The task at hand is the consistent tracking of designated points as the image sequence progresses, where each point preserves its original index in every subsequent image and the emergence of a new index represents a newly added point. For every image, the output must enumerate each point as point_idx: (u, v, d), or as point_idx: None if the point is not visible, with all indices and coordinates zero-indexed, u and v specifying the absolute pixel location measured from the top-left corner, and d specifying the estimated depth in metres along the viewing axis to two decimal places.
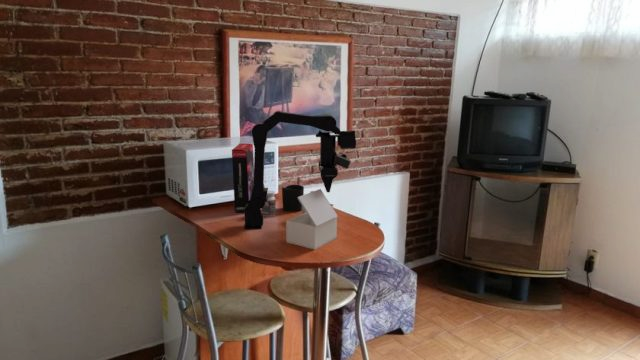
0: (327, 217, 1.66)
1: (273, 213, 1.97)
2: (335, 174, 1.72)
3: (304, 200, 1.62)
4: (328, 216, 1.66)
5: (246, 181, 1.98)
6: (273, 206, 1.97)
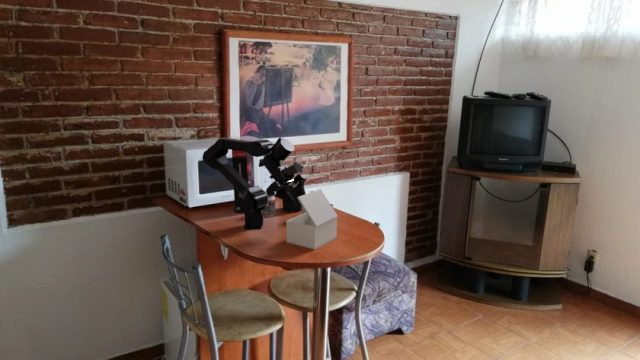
0: (327, 217, 1.66)
1: (273, 213, 1.97)
2: (276, 187, 1.63)
3: (304, 200, 1.62)
4: (328, 216, 1.66)
5: None
6: (273, 206, 1.97)
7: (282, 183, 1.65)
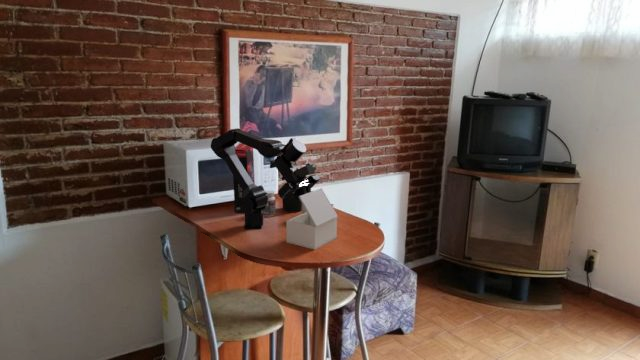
0: (327, 217, 1.66)
1: (273, 213, 1.97)
2: (288, 188, 1.60)
3: (305, 199, 1.62)
4: (328, 216, 1.66)
5: None
6: (273, 206, 1.97)
7: (294, 185, 1.62)
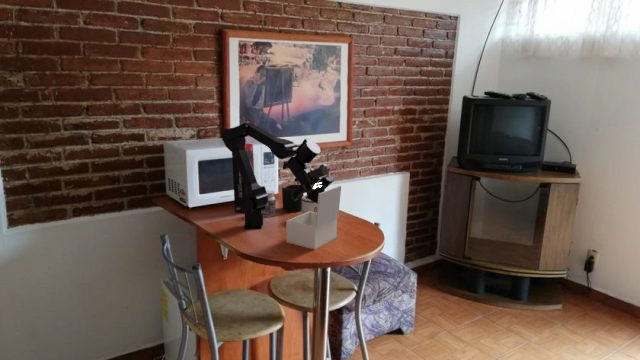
0: (329, 218, 1.65)
1: (273, 213, 1.97)
2: (302, 190, 1.57)
3: (322, 198, 1.58)
4: (330, 217, 1.66)
5: None
6: (273, 206, 1.97)
7: (308, 186, 1.59)
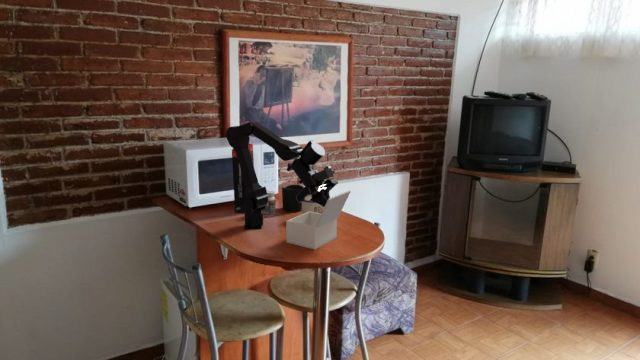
0: (330, 219, 1.65)
1: (273, 213, 1.97)
2: (307, 193, 1.56)
3: (330, 202, 1.57)
4: (331, 218, 1.66)
5: None
6: (273, 206, 1.97)
7: (313, 189, 1.58)
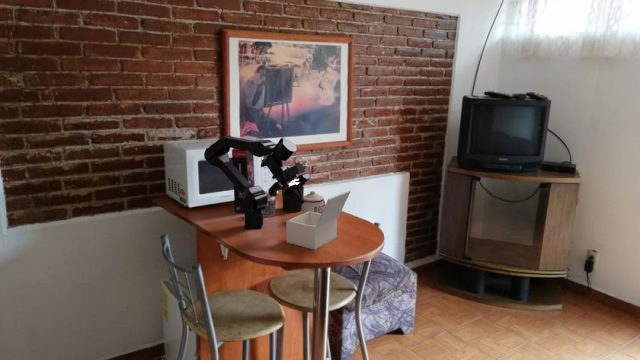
0: (330, 219, 1.65)
1: (273, 213, 1.97)
2: (278, 187, 1.62)
3: (330, 202, 1.57)
4: (331, 218, 1.66)
5: None
6: (273, 206, 1.97)
7: (284, 183, 1.64)
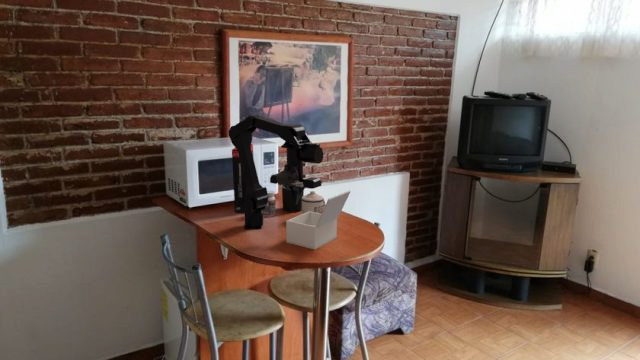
0: (330, 219, 1.65)
1: (273, 213, 1.97)
2: None
3: (330, 202, 1.57)
4: (331, 218, 1.66)
5: None
6: (273, 206, 1.97)
7: (275, 181, 1.70)
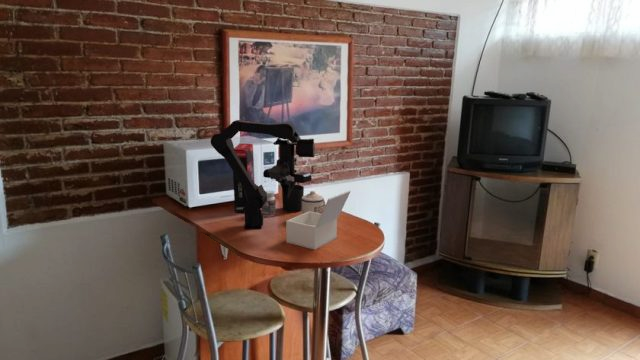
0: (330, 219, 1.65)
1: (273, 213, 1.97)
2: None
3: (330, 202, 1.57)
4: (331, 218, 1.66)
5: None
6: (273, 206, 1.97)
7: (268, 176, 1.80)
